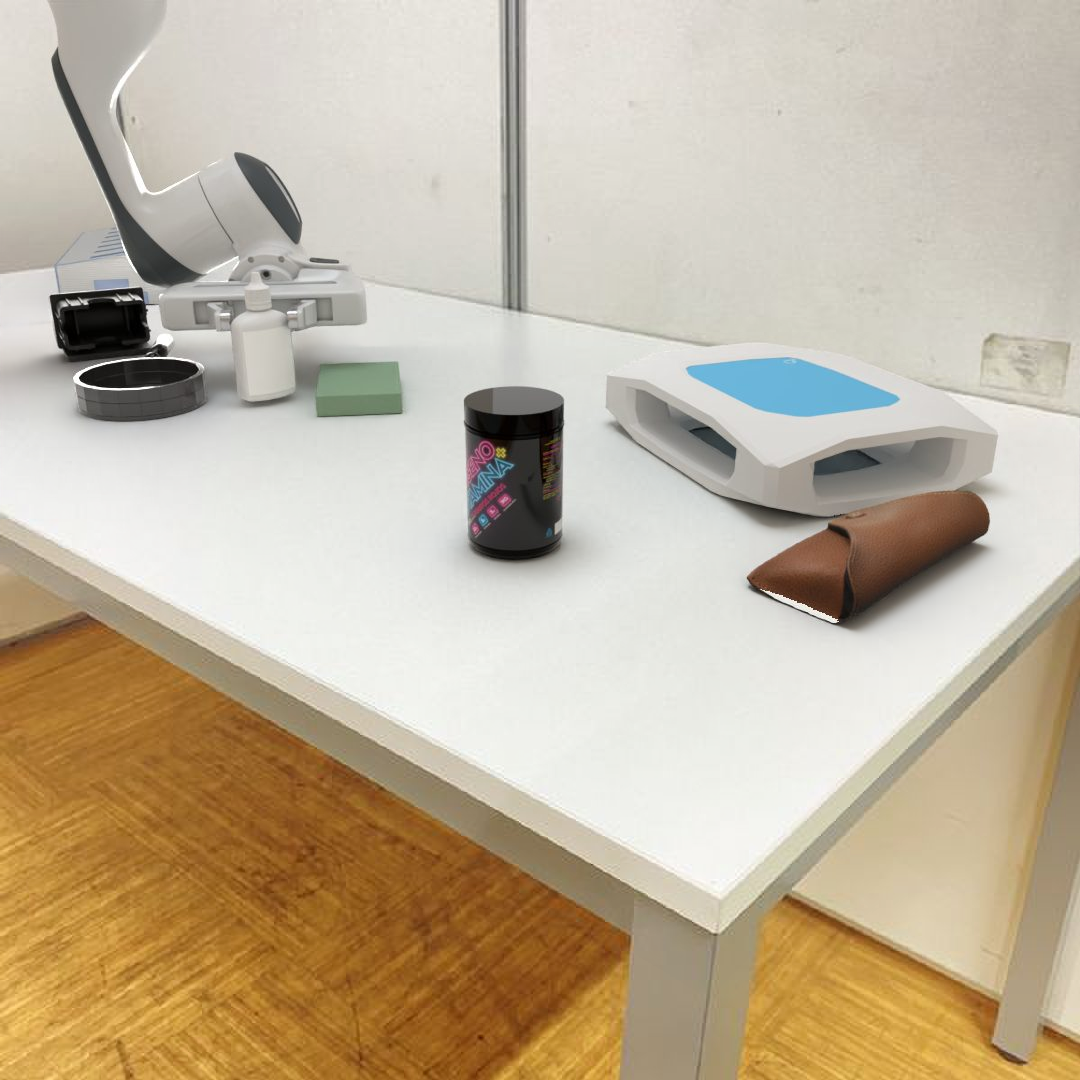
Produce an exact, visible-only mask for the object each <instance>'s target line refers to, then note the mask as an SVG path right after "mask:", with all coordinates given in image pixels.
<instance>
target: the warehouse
mask: <svg viewBox="0 0 1080 1080" xmlns="http://www.w3.org/2000/svg"><path fill="white" fill-rule="evenodd" d="M53 267H54V275H55V279H56V285H57V290H58V291H57V292H58V294H59V293H71V292H83V291H95V290H106V289H118V288H130V287H141V288H142V289H143V294H144V301H145V304H155V305H159V296H160V294H161V293H162V292H164V291H165V290H167V289H164V288H160V287H156V286H153V285H151V284H148V283H146V282H145V281H143V280H142V278H141V277H140V276H139V274H138V273H137V272H136V271H135V270H134V268H133V267H132V265H131V264H130V262H129V260H128V258H127V256H126V253H125V250H124V247H123V244H122V241H121V238H120V235H119V233H118V230H117V227H116V226H114V227H107V228H103V229H96V230H95V229H94V230H90V231H84V232H82V233H81V234H80V236H79V237H78V238H77V239H76V240H75V241H74V242H73V243H72V244H71V245H70V247H69V248H68V249H67V250H66V251H65V252H64V254H63V255H62V256H61V257H60V258H59V259H58V260H57V262H56V263H55V264H54V265H53Z"/></svg>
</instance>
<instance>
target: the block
mask: <svg viewBox="0 0 1080 1080" xmlns="http://www.w3.org/2000/svg"><path fill="white" fill-rule="evenodd" d="M316 385H317V386H316V392H315V406H316V417H338V416H339V417H342V416H364V415H365V416H366V415H391V414H403V401H402V400H403V398H402V397H403V396H402V388H401V387H402V385H401V377H400V365H399V361H373V362H371V361H370V362H368V361H367V362H342V363H341V362H340V363H320V364H319V372H318V378H317V384H316Z"/></svg>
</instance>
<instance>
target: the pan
mask: <svg viewBox="0 0 1080 1080" xmlns="http://www.w3.org/2000/svg"><path fill="white" fill-rule="evenodd" d="M72 381H73V387H74V392H75V398H76V404H77V408H78V411H79V413H81V414H82V415H83V416H84V417H85V416H86V417H88V418H90V419H91V418H92V419H95V420H100V421H111V422H113V421H114V422H135V421H136V422H137V421H148V420H149V421H150V420H157V419H164V418H168V417H174V416H178V415H182V414H185V413H189V412H191V411H193V410H196V409H198V408H200V407H201V406H203V405H204V404H206V403H207V400H208V387H207V378H206V369H205V367H204V366H203V364H202V363H200V362H197V361H194V360H192V359H186V358H178V357H166V358H164V357H155V358H144V357H137V358H126V359H119V360H114V361H108V362H103V363H100V364H96V365H93V366H88V367H86V368H85V369H82V370H80V371H78V372H77V373H76V374H75V375H74V376H73V377H72Z"/></svg>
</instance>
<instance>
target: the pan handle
mask: <svg viewBox="0 0 1080 1080" xmlns="http://www.w3.org/2000/svg"><path fill="white" fill-rule="evenodd" d="M174 346H175V339H174V338H173V336H171V335H170V334H167V333H163V334H160V335H158V336H157V338H156V340H155V341H154V343H153V344H152V345H151V348H150V350H149V351H148V352H147V353H146V354H144V357H143V358H155V357H164V358H168V356H169V354H170V353H171V351H172V350H173V348H174Z"/></svg>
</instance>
